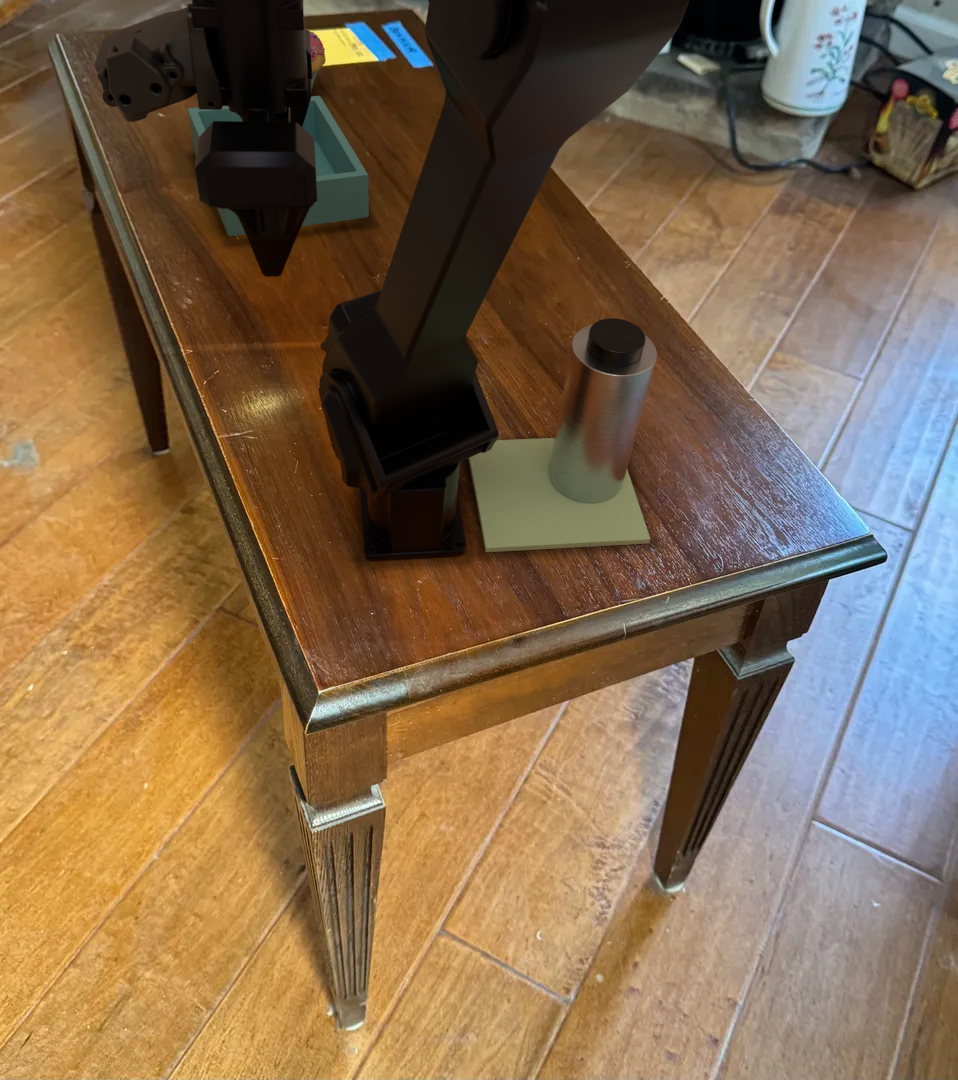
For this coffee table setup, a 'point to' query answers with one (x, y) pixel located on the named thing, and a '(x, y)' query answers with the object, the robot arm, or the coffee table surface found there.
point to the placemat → (545, 504)
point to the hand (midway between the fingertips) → (272, 235)
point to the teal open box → (335, 167)
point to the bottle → (600, 409)
